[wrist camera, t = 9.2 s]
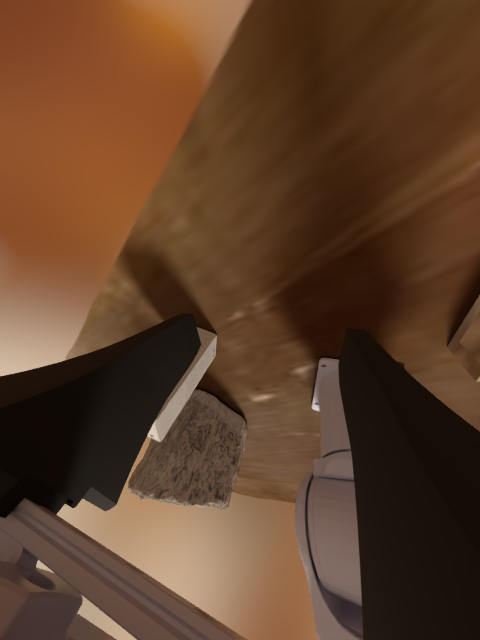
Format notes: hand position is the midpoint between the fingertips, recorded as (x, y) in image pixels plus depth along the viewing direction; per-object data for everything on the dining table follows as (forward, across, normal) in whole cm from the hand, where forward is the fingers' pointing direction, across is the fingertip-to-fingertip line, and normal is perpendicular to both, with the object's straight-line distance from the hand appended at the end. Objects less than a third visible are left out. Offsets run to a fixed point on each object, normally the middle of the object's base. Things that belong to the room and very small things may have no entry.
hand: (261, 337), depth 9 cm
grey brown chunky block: (+11, +14, +31) cm, 36 cm away
